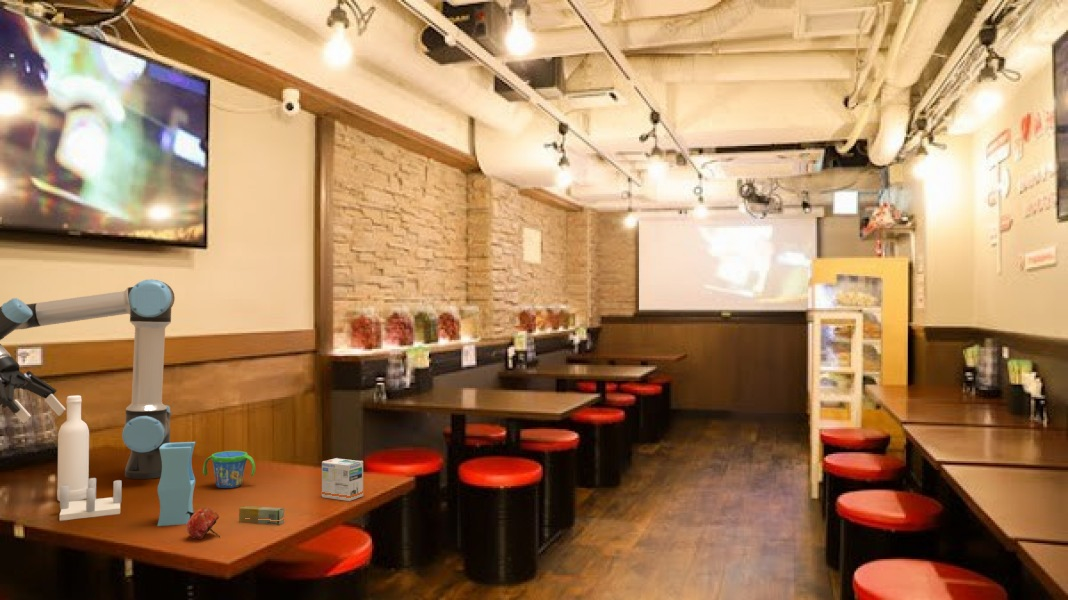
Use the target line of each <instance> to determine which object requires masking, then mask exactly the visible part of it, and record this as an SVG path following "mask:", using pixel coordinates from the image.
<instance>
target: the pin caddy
mask: <svg viewBox="0 0 1068 600" xmlns="http://www.w3.org/2000/svg"><path fill="white" fill-rule="evenodd" d="M122 481H123V480H120V479H117V480H114V481H113V486H112V487H113V488H112V489H113V491H112V492H113V494H112V495H113V496H112V497H111V496H110V497H104V498H102V497H101V498H97V478H96V477H90V478H89V479H88V488H87V489H86V499H84V500H80V501H72V502H69V485H64V486H60V501H59V509H60V512H59V521H60V522H62V521H68V520H69V521H70V520H77V519H87V518H97V517H104V516H113V515H120V514H121V503H122V497H123V496H122V495H123V494H122V490H123V489H122V488H123V487H122V486H123V485H122V484H123V483H122Z"/></svg>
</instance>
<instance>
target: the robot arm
mask: <svg viewBox="0 0 1068 600" xmlns="http://www.w3.org/2000/svg"><path fill="white" fill-rule="evenodd" d="M175 299H176V297H175V293H174V291H173V289H172V287H171V286H169V284H167V283H166V282H164V281H160V280H158V279H143V280H141V281H138V282H137V283H135V285H133V286H130V287H127V288H126V289H125V290H123V291H122V290H121V291H115V292H107V293H101V294H93V295H85V296H79V297H78V296H77V297H72V298H64V299H56V300H49V301H41V302H35V303H25V302H24V301H22V300H21V299H19V298H17V297H13V298H11V299H9V300H8V301H6V302H4V303H3V304H2V305H1V306H0V341H1V340H3V339H5V337H7V336H8V335H10V334H11V333H13V331H16V330H17V331H18V330H26V329H27V330H28V329H31V328H37V327H45V326H50V325H51V326H52V325H59V324H65V323H72V322H79V321H86V320H92V319H93V320H95V319H99V318H101V319H102V318H107V317H114V316H122V315H127V314H128V315H130V316H129V323H131V324H132V326H133V327H134V339H133V340H134V341H133V361H132V362H133V364H132V388H131V403H130V404H129V405H128V406H127V407H125V417H124V418H125V420H124V427H123V428H122V432H121V435H122V441H123V443H124V445H125V446H126V447H127V448H128V449H129V450H130V455H129V458H128V461H127V463H126V467H125V468H124V477H125V478H127V479H131V480H147V479H158V478H161V473H162V460H161V454H160V450H159V448H160V447H161V446H162V445H163V444H165V443H171V415H172V412H171V407H170V406H169V405H166V404H164V403H163V387H164V386H163V383H164V365H165V363H164V361H165V344H166V343H165V342H166V341H165V340H166V338H165V337H166V328H167V327H168V326H169V325H170V324H172V323H171V322H172V307H173V306H174V304H175ZM17 389H21V390H24V391H25V390H27V391H28V392H31V393H33V394H35V395H37V396H40V397H42V398H44V402H45V403H46V404H47V405H48V406H49V407H50V408H51V410H52V411H53V412H54V413H55V414H56V415H57V417H59V416H61V415H62V414H63V413H64V412H65V411H67V408H66V407H65V406H64V405H63V404H62V403H61V402H60V400H59V399H58V398H57V397H56V396H55V394H56V393H57V391H58V390H57V389H55V388H54V387H53V386H52V385H49V384H48V383H46V381H44V380H43V379H41V378H39V377H37V376H36V375H35V374H34V373H32V372H31V371H30V370H27V371H26V373H23V372H22V371H20V364H19V363H18V362H17V361H16V359H15V358H14V357H13V356H11V353H10V352H8V350H7V349H6V348H5V347H4V346H3V345H2V343H0V406H1V408H4V409H6V408H7V407H8V409H9V410H10V411H11V412H12V413H13V414H15V416H16V417H17V418H18V419H19V420H20V422H22V423H23V424H25V423H26V422H27V421H28V420H29V419H30V418H31V417H32V415H31V413H29V412H28V410H27V409H26V408H25V407H24V406H23V405H22V404H21V403H20V402H19V401H18V399H14V394H15V393H14V390H17Z"/></svg>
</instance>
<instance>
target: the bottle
mask: <svg viewBox="0 0 1068 600" xmlns="http://www.w3.org/2000/svg"><path fill="white" fill-rule="evenodd" d="M82 401H83V399H82V396H81V395H78V394H77V395H68V396H67V397H66V400H65V404H66V421H64V422H63V423H62V424H61V425H60V428H59V430H58V433H57V492H56V495H57V501H58V502H60V486H64V485H69V502H72V501H82V500H86V489H87V488H88V479H90V478H89V477H90V476H89V475H90V474H89V473H90V471H89V465H90V463H89V462H90V461H89V460H90V430H89V427H88V424H87V423H86V422H85V421H84V420H82Z"/></svg>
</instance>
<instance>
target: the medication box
mask: <svg viewBox="0 0 1068 600" xmlns="http://www.w3.org/2000/svg"><path fill="white" fill-rule="evenodd" d="M283 517H284V519H283V520H281V521H270V520H258V519H271V520H280V519H282V518H283ZM245 518H250V519H245ZM238 523H246V524H257V525H259V524H260V525H273V526H280V525H282V524H284V523H285V508H284V507H270V506H269V507H268V506H252V505H244V506H241V507H239V509H238Z"/></svg>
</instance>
